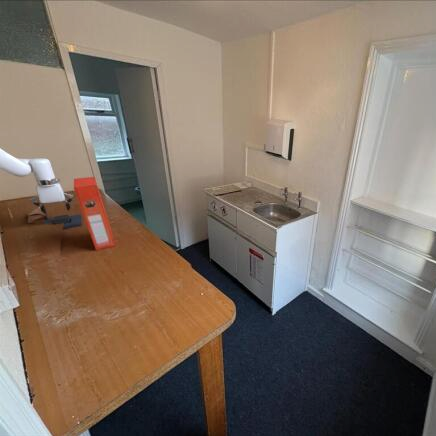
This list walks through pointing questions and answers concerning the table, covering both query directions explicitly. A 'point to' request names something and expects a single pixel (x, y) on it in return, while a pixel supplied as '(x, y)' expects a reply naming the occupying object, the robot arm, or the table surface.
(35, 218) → the sunglasses case
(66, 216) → the black pad
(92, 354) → the table surface
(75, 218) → the socket pad
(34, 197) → the robot arm
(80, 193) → the file binder
